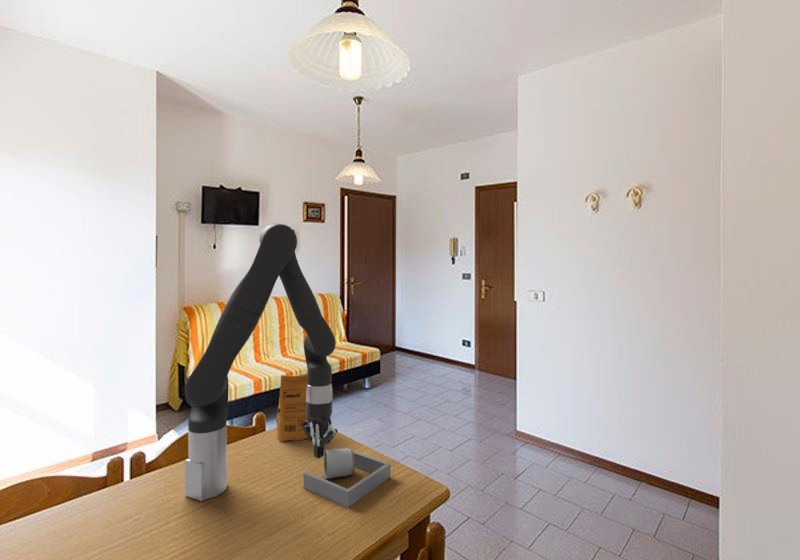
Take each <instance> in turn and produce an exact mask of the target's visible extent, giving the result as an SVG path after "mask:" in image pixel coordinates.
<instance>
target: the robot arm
mask: <svg viewBox="0 0 800 560" xmlns="http://www.w3.org/2000/svg"><path fill="white" fill-rule="evenodd" d="M297 238H298V237H297V235H296V232H295V231H294V229H293V228H291V227H290V226H288V225H286V224H283V223H282V224H281V223H273V224H269V225H267V226H265V227H264V229H263V230H261V233H260V236H259V247H258V249H257V251H256V254H255V257H254V259H253V262H252V263H251V266H250V268H249V269H248V271H247V272H246V274H245V275H244V276H243V277H242V279H241V280H240V282H238V284H237V286H236V287H235V288H234V290H233V291H232V293H231V295H230V296H229V298H228V300H227V303H226V304H225V306H224V308H223V310H222V312H221V314H220V317H219V319H218V320H217V323H216V326H215V328H214V331H213V333H212V335H211V338H210V341H209V343H208V346H207V348H206V349H205V350H204V353H203V355H202V357H200V360H199V361H198V363H197V365H196V366H195V368H194V369H193V371H192V372H191V374H190V375H189V377H188V378H187V379H186V381H185V384H184V394H185V398H186V399H187V401H188V402H189V404H191V408H190V413H189V417H188V421H187V423H188V424H187V426H188V428H187V431H188V433H187V434H188V435H187V436H188V441H187V442H188V443H187V444H188V446H187V447H188V448H187V449H188V458H187V459H185V461H184V470H185V471H184V473H185V474H184V477H185V478H184V479H185V482H184V484H185V485H184V487H185V488H184V489H185V493H184V495H185V497H187V498H190V499H194V500H196V501H199V502H203V501H205V500H208V499H212V498H214V497H217V496H220V495H221V494H222V493H224V492H225V491H226V490H227V488H228V460H227V459H228V453H227V452H228V451H227V450H228V449H227V448H228V447H227V446H228V445H227V444H228V443H227V442H228V441H227V440H228V432H227V430H228V426H227V423H228V422H227V421H228V420H227V419H228V418H227V417H228V412H229V388H230V387H229V376H228V375H229V372H230V371H231V370H230V369H231V368H232V365H233V363H234V361H235V360H236V358H237V357H238V355H239V353H240V351H242V349H243V347H244V346H245V345H246V343H247V342H248V340H249V339H250V337H251V335H252V334H253V332H254V331H255V329H256V327H257V325H258V323H259V322H260V319H261V317H262V315H263V313H264V311H265V308H266V306H267V304H268V302H269V299H270V297H271V296H272V292H273V290H274V287H275V284H276V282H277V280H278V279H280V280H281V283H282V286H283V288H284V291H285V294H286V296H287V299H288V301H289V305H290V307H291V310H292V312H293V314H294V317H295V319H296V322H297V323H298V326H300V327H301V328H302V329H303V330H304V332H305V333H306V335H305V336H304V341H303V351H304V357H305V363H306V368H307V373H306V374H307V390H306V415H307V416H308V417H307V420H306V421H305V422H302V423H301V425H302V427H303V429H304V432H305V434H306V436H307V440H308V442H312V445H313V456H314V458H315V459H321V458H324V452H325V446H326V445H328V444H330V443H331V441H332V440H333V439H334V437H335V436H336V434H337V433H338V432H339V431H338V429H337V428H334V427H333V426H332V424H333V423H332V420H331V417H332V414H333V385H332V381H333V377H332V376H333V374H332V373H333V372H332V371H333V370H332V366H331V363H330V362H328V358H327V357H328V356H330V355H332V354H333V352H334V351H335V349H336V346H337V345H336V343H337V342H336V337H335V335H334V333H333V331H332V329H331V328H330V326H329V324H328V322H327V321H326V319H325V318H324V317H323V314H322V312H321V309H320V307H319V304H318V302H317V299H316V297H315V295H314V293H313V291H312V288H311V287H310V285H309V282H308V281H307V279H306V277H305V275H304V273H303V271H302V269H301V267H300V264H299V262H298V258H297V255H296V248H297V245H298V239H297ZM309 432H311V435H310V433H309Z"/></svg>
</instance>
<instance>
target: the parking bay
mask: <svg viewBox="0 0 800 560" xmlns="http://www.w3.org/2000/svg"><path fill="white" fill-rule="evenodd" d="M353 452H354V458H355V467H356V468H358V469H361V470H362V471H363V470H364V471H366V472H368V473H370V474H369V475H367V476H365V477H364V478H363V479H361V480H359V481H358V482H356V483H355V484H353V485H351V486H350V487H349V488H346V487H344V486H341V485H339V484H337V483H334V482H332V481H329V480H327V479H326V478H323V477H321V476H318V475H315V474H313V473H310V472H308V471H305V472H303V489H306V490H308V491H310V492H312V493H314V494H316V495H319V496H321V497H323V498H326V499H327V500H330V501H332V502H333V503H336V504H338V505H341V506H343V507H345V508H347V509H348V508H350V507H351V506H352V505H354V504H355V503H357V502H359V501H360V500H362V498H364V497H366V496H367V495H368V494H370V493H372V491H374V490H375V489H376V488H378V487H379V486H381V485H382V484H383V482H384V483H385V482H386V481H388V480H389V479H390V478H391V466H392V465H391V463H389V462H387V461H384V460H381V459H378V458H375V457H372V456H370V455H366V454H363V453H360V452H358V451H355V450H353ZM389 477H390V478H389ZM388 478H389V479H388ZM387 479H388V480H387Z"/></svg>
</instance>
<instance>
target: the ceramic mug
mask: <svg viewBox="0 0 800 560" xmlns="http://www.w3.org/2000/svg"><path fill="white" fill-rule="evenodd" d="M353 451H354V450H353V449H351V448H326V449H324V455H323V473H324V479H325V480H327V479H334V478H342V477H348V476H351V475H353V474H354V472H355V458H354V452H353Z"/></svg>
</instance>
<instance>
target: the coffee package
mask: <svg viewBox="0 0 800 560" xmlns="http://www.w3.org/2000/svg"><path fill="white" fill-rule="evenodd" d="M279 384H280V385H279V398H278V407H277V411H276V431H277V432H276V435H277V437H276V438H277V440H278V441H279V443H280V442H281V443H282V442H287V441H296V442H300V441H302V440H308V438H307V436H306V434H305V432H304V429H303V427H302V425H301V423H302V422H305V421H306V420H307V417H308V416H307V415H306V390H307V373H305V374H301V375H299V374H298V375H288V374H287V375H286V374H281V375H280V383H279ZM309 433H310V435H311V432H309Z"/></svg>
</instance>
